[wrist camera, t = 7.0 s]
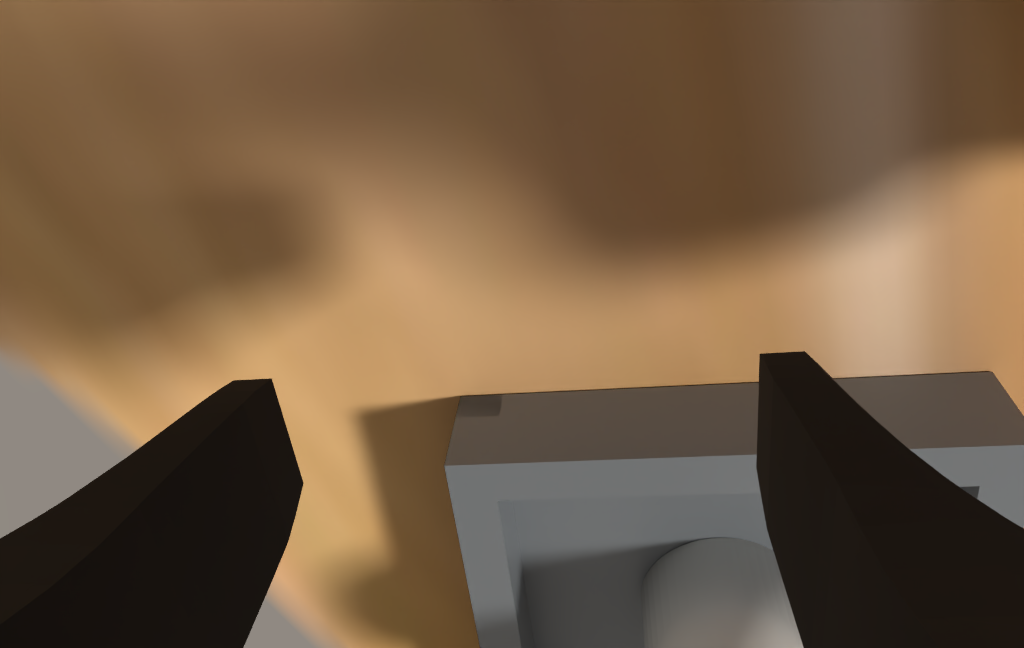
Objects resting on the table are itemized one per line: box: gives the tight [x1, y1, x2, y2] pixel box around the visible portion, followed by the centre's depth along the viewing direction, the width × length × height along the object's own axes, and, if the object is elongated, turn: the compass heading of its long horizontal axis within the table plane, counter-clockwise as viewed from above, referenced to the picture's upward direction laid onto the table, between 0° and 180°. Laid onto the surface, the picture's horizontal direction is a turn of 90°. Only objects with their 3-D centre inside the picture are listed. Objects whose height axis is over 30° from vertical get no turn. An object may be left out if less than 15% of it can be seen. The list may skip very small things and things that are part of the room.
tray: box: [444, 372, 1024, 648], centre depth 26 cm, size 14×14×3 cm
